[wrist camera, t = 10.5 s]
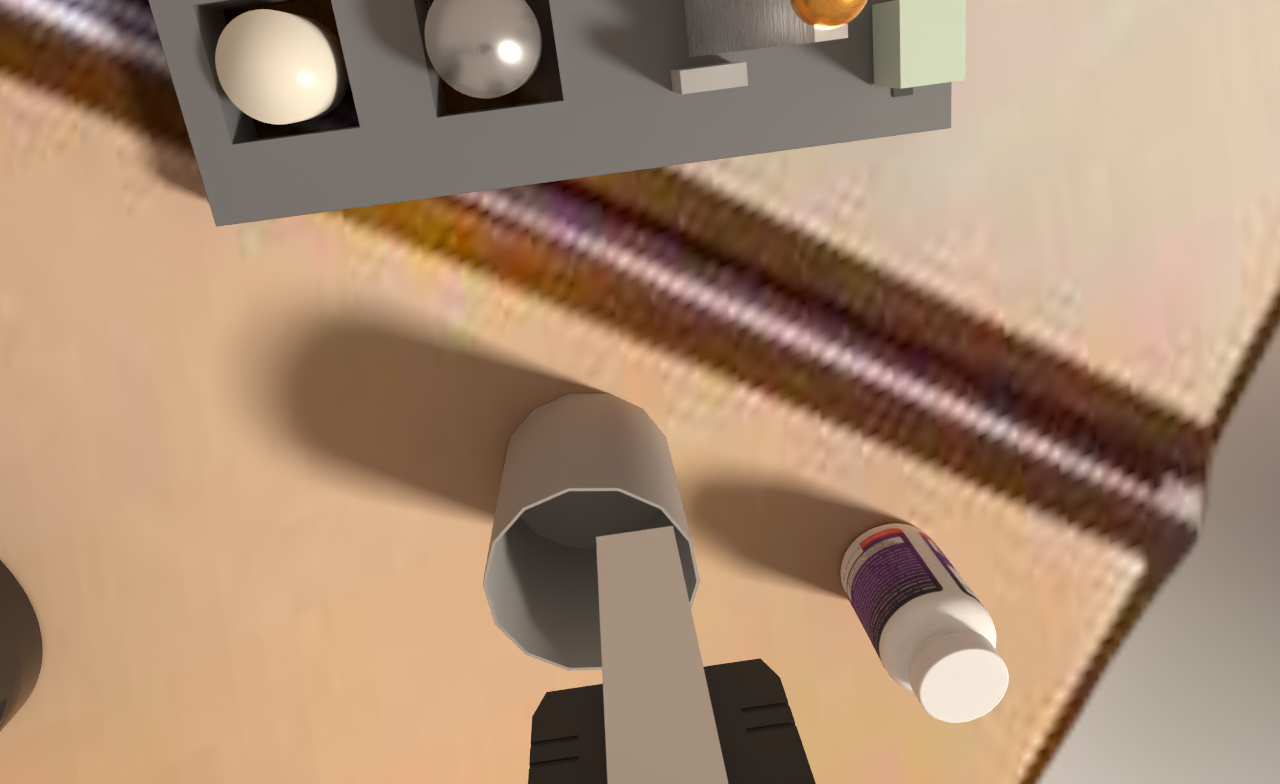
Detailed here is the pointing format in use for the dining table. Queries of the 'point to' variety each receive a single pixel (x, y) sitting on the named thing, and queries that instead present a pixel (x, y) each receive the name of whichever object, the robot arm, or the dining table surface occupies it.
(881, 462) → the dining table surface
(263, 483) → the dining table surface
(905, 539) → the pill bottle
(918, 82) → the slider
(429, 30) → the grey button
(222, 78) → the ivory button
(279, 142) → the panel
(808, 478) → the dining table surface
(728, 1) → the lever
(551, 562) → the cup
